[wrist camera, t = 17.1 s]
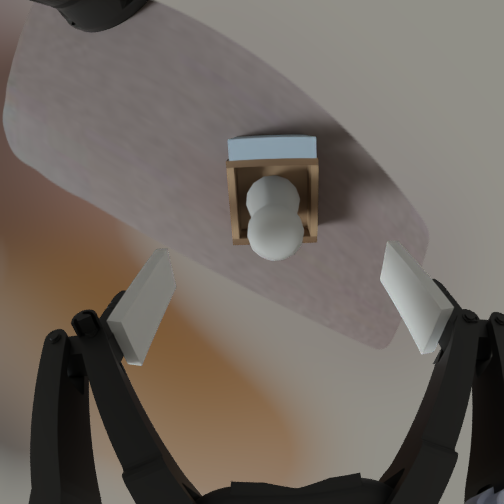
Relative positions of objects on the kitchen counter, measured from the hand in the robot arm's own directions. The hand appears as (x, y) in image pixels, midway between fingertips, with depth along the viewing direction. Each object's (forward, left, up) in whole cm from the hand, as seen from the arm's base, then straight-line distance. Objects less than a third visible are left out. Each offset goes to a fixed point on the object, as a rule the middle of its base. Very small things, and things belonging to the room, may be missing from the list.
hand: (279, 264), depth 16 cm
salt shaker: (0, 0, -17) cm, 17 cm away
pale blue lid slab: (-6, 0, -19) cm, 20 cm away
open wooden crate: (0, 0, -19) cm, 19 cm away
